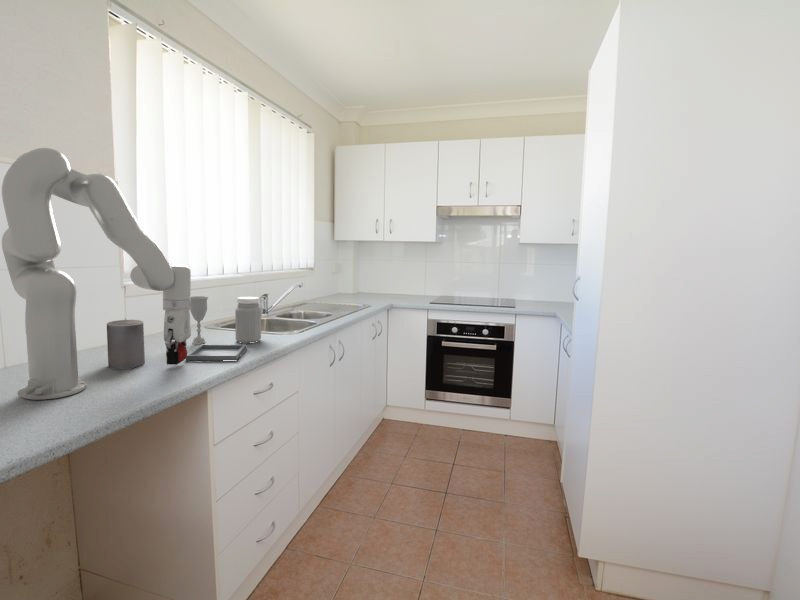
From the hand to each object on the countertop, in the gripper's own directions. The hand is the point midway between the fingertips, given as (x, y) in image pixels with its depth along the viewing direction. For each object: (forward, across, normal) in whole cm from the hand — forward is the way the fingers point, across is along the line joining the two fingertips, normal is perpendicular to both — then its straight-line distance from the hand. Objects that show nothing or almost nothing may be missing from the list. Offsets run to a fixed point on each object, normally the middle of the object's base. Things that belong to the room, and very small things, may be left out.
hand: (176, 360), depth 129 cm
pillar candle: (+3, +2, +16) cm, 16 cm away
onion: (+1, 0, 0) cm, 1 cm away
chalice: (+2, +34, +4) cm, 34 cm away
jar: (+1, +36, -14) cm, 39 cm away
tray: (+2, +14, -8) cm, 17 cm away
